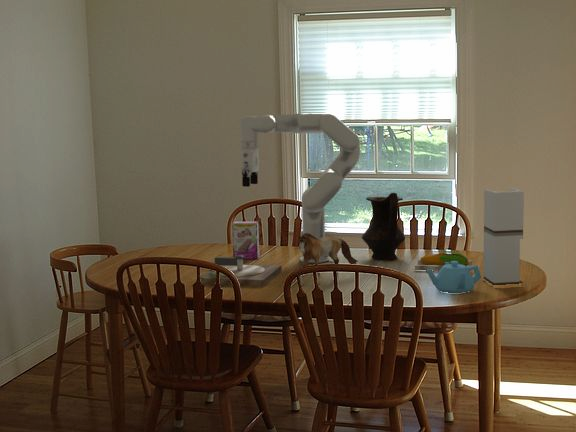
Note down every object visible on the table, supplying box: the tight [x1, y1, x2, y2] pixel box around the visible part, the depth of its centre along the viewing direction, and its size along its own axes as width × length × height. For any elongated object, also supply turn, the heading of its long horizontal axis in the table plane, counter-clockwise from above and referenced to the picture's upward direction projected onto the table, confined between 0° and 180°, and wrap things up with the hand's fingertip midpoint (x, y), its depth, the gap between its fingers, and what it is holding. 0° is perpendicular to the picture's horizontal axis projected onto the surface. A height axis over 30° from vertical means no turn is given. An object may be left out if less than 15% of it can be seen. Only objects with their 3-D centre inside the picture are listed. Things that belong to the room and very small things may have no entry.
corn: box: [419, 250, 469, 266], centre depth 324 cm, size 7×8×20 cm
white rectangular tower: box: [483, 187, 525, 285], centre depth 294 cm, size 11×11×35 cm
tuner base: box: [199, 263, 283, 287], centre depth 320 cm, size 27×26×4 cm
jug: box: [361, 192, 406, 262], centre depth 343 cm, size 21×18×30 cm
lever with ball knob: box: [214, 255, 244, 270], centre depth 320 cm, size 12×4×6 cm, turn 75°
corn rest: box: [414, 258, 473, 271], centre depth 324 cm, size 22×12×2 cm, turn 75°
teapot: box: [426, 261, 483, 293], centre depth 288 cm, size 15×15×11 cm
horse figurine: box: [297, 233, 359, 286], centre depth 309 cm, size 31×8×21 cm, turn 133°
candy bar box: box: [231, 221, 260, 260], centre depth 355 cm, size 11×5×16 cm, turn 84°
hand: (250, 185), depth 344 cm, fingers open, 9 cm apart
